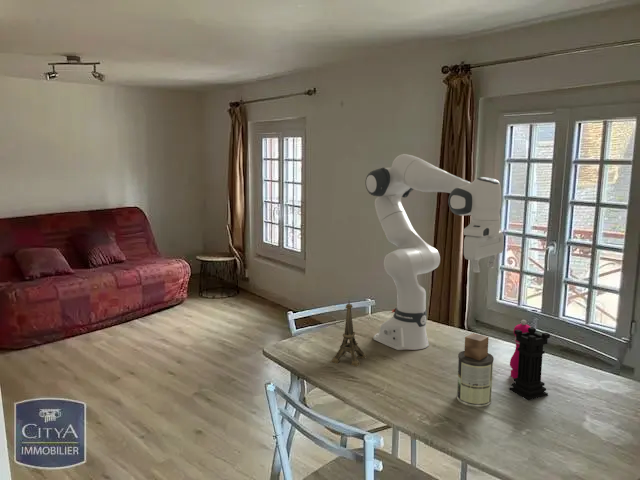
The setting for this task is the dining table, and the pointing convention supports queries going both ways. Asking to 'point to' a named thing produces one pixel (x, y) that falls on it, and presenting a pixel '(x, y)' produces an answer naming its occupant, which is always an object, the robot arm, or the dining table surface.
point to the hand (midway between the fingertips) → (483, 269)
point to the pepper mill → (515, 357)
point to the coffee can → (475, 380)
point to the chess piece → (530, 364)
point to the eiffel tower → (347, 346)
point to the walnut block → (476, 346)
